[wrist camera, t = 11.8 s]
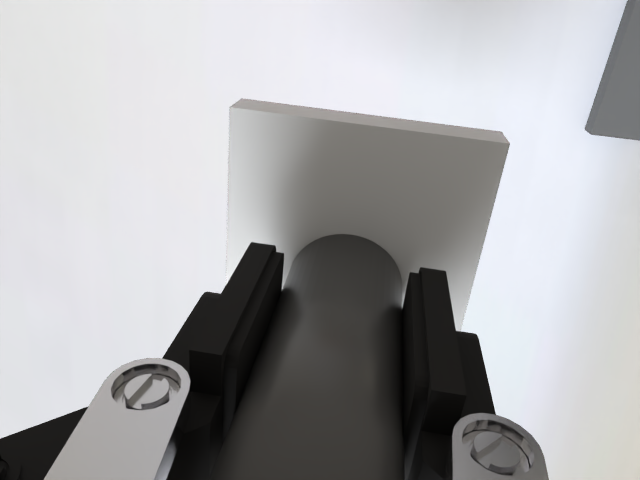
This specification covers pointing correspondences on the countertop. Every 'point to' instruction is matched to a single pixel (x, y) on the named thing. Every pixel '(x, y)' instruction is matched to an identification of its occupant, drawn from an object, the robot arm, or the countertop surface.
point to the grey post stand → (345, 275)
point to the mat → (620, 83)
